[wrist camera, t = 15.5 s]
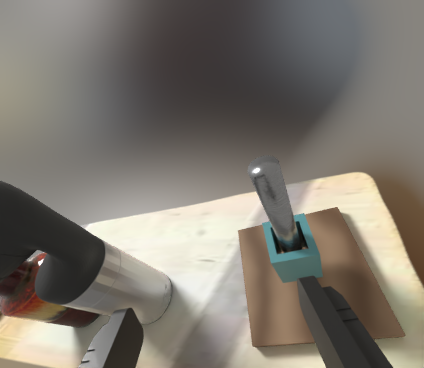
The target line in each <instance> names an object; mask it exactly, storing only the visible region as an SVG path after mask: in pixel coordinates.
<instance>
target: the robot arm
mask: <svg viewBox="0 0 424 368" xmlns="http://www.w3.org/2000/svg"><path fill="white" fill-rule="evenodd" d="M36 250H41V251H43V252H45V253H47V254H46V256H45V258H44V260H43V262H42V263H41V265H40V268H39V270H38V273H37V276H36V280H35V292H36V295H37V296H38V298H40V299H41V300H43V301H45V302H49V303H53V304H57V305H62V306H66V307H71V308H75V309H80V310H85V311H89V312H94V313H98V314H102V315H107V316H111V317H110V319H109V321H108V324H106V325H103V327H102V328H101V329H100V330H99V331H98V333H97V334H96V335H95V336H94V338H93V340H92V342H91V344H90V346H89V348H88V350H87V353H85V355H84V357H83V359H82V361H81V362H82V363H81V364H80V365H79V367H78V368H135V367H136V364H137V361H138V357H139V354H140V350H141V347H142V343H143V336H144V335H143V328H142V326H141V324H140V323H142V324H150V323H152V322H154V321H156V320H157V319H159V318H160V317H161V316H162V315H163V313H164V312H165V310H166V309H167V307H168V305H169V302H170V299H171V290H172V288H171V283H170V280H169V278H168V277H167V276H166V275H165V274H163V273H162V272H160V271H158V270H156V269H154V268H153V267H151V266H149V265H147V264H145V263H143V262H142V261H140V260H138V259H136V258H134V257H132V256H131V255H129V254H127V253H125V252H123V251H121V250H120V249H118V248H116V247H114V246H112V245H110V244H108V243H106V242H105V241H103V240H101V239H99V238H98V237H96V236H94V235H92V234H91V233H89V232H88V231H86V230H85V229H84V228H82V227H80V226H79V225H77V224H76V223H74V222H72V221H70V220H68V219H67V218H65V217H63V216H62V215H60V214H58V213H57V212H55V211H54V210H52V209H51V208H49V207H48V206H46V205H44V204H43V203H41V202H40V201H38V200H37V199H35V198H34V197H32V196H30V195H29V194H27V193H25V192H24V191H22V190H20V189H18V188H16V187H14V186H12V185H10V184H8V183H5V182H2V181H0V283H1V282H2V281H3V280H4V279H6V278H7V277H8V276H9V275H10V274H11V273H12V272H13V271H15V270H16V269H17V268H18V267H19V266H20V265H21V264H22V263H23V262H24V261H26V260H27V259H28V258H29V257H30V256H31V255H32V254H33V253H34V252H35V251H36ZM297 286H298V295H299V303H300V307H301V310H302V313H303V316H304V318H305V320H306V323H307V325H308V327H309V330H310V332H311V334H312V336H313V339H314V341H315V343H316V345H317V348H318V350H319V352H320V354H321V357H322V359H323V361H324V363H325V366H326V368H393V367H392V365H391V364H390V363H389V361H388V360H387V358H386V357H385V355H384V354H383V353H382V351H381V350H380V348H379V347H378V345H377V344H376V343H375V341H374V340H373V338H372V337H371V335H370V334H369V333H368V331H367V330H366V328H365V327H364V325H363V324H362V323H361V321H359V319H358V317H357V315H356V314H355V313H354V311H353V310H352V309H351V307H350V305H349V304H348V303H347V301H346V300H345V298H344V297H343V295H341V294H340V293H339V292H337V291H336V290H335V289H334V288H332V287H331V286H328V287H321V285H320V284H319V282H318V280H317V279H316V277H315V276H307V277H302V278H297Z"/></svg>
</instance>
